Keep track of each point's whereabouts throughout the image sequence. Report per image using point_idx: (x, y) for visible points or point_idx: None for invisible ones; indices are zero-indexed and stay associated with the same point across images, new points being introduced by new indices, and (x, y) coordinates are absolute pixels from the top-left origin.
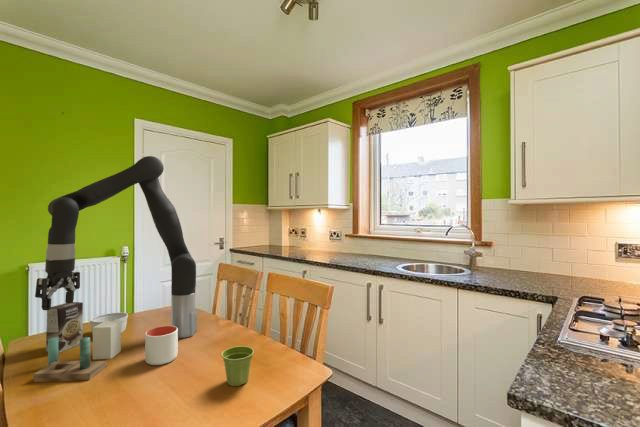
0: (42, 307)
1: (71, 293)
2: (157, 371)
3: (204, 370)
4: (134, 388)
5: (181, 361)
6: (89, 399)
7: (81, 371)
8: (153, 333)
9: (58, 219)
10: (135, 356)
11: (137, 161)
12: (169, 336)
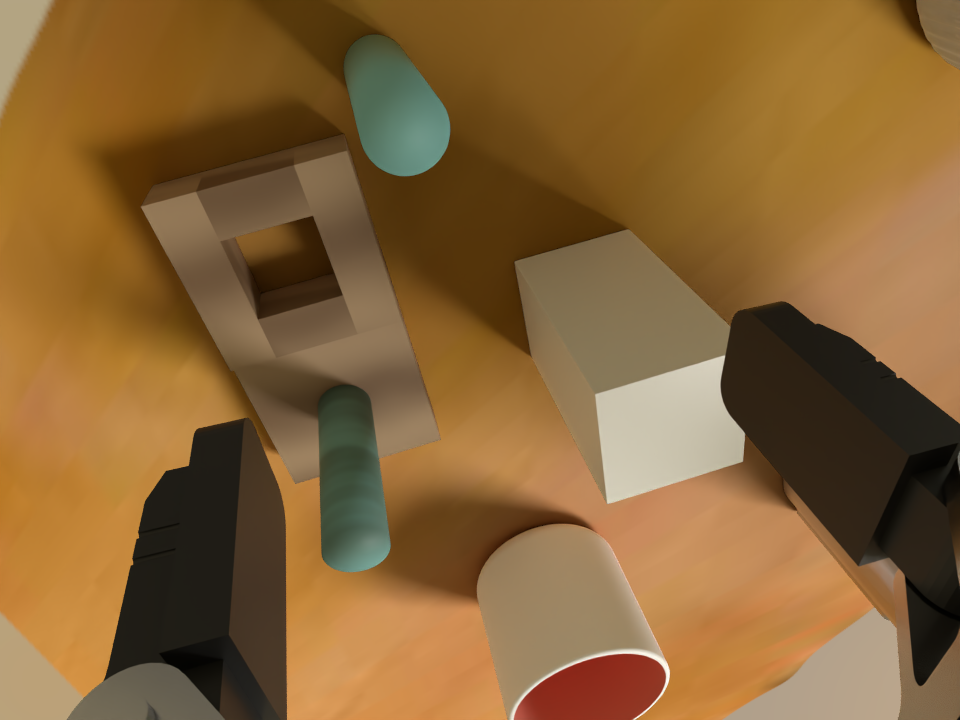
0: (154, 516)
1: (841, 542)
2: (437, 616)
3: (472, 712)
4: (298, 641)
5: None
6: None
7: (297, 431)
8: (616, 624)
9: None
10: (568, 447)
11: None
12: None
